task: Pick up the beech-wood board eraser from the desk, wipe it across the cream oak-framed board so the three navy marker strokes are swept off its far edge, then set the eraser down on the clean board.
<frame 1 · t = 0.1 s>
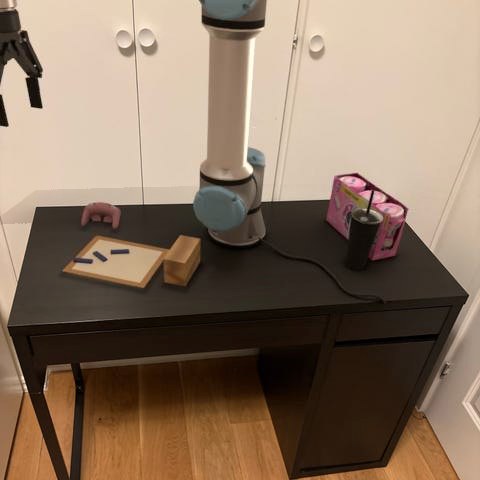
hand: (20, 116, 116), 28 cm above the table, tool pointing down, fingers open, 13 cm apart
drinking cup: (354, 265, 128), on the table
board: (118, 264, 122), on the table
eraser: (182, 275, 120), on the table
stroke a: (120, 252, 124), point 1 cm above the table, touching board
video game controller: (102, 226, 136), on the table
gum box: (358, 238, 139), on the table
stroke b: (100, 257, 121), point 1 cm above the table, touching board
stroke c: (83, 261, 120), point 1 cm above the table, touching board
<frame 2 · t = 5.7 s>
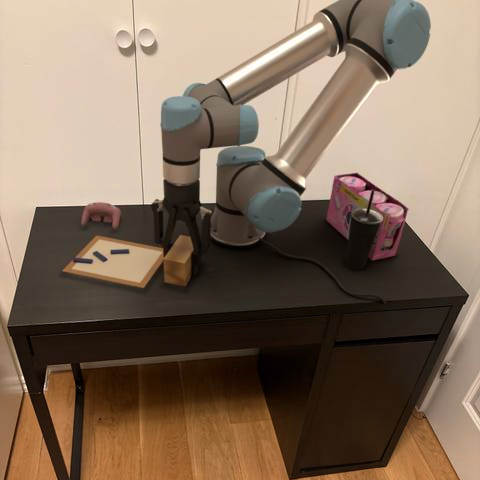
hand: (182, 272, 119), 1 cm above the table, tool pointing down, fingers closed on eraser, 5 cm apart
eraser: (182, 275, 120), on the table, touching gripper
everything else where it was.
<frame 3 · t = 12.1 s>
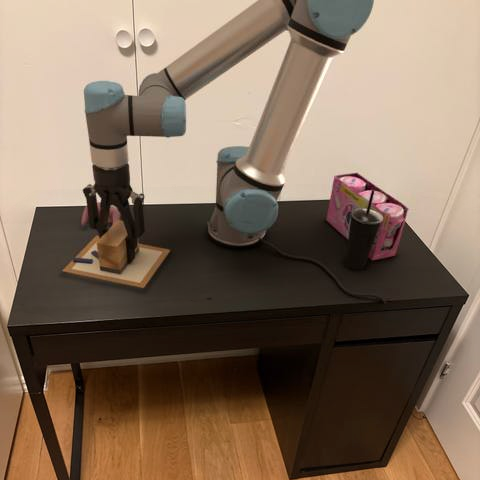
hand: (120, 257, 121), 2 cm above the table, tool pointing down, fingers closed on eraser, 5 cm apart
eraser: (120, 260, 121), point 1 cm above the table, touching gripper
stroke a: (108, 249, 124), point 1 cm above the table, touching board
stroke b: (98, 257, 122), point 1 cm above the table
everything else where it was.
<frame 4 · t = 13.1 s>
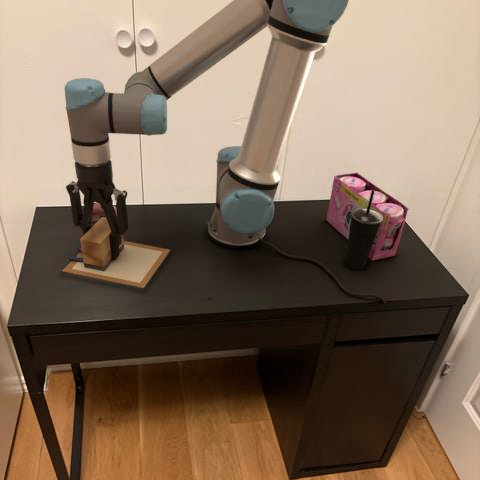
hand: (104, 254, 121), 2 cm above the table, tool pointing down, fingers closed on eraser, 5 cm apart
eraser: (104, 257, 122), point 1 cm above the table, touching gripper, stroke a
stroke a: (93, 246, 125), point 1 cm above the table, touching eraser
stroke b: (84, 253, 122), point 1 cm above the table, touching board
stroke c: (79, 260, 120), point 1 cm above the table
everything else where it was.
when the fingers open (2 cm above the table, at t = 21.7 s): eraser stays where it is, resting on board.
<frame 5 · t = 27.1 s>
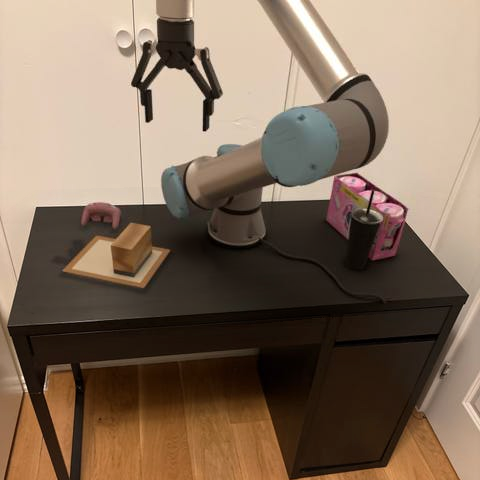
hand: (177, 125, 115), 29 cm above the table, tool pointing down, fingers open, 13 cm apart
eraser: (133, 263, 120), point 1 cm above the table, touching board
stroke a: (79, 248, 127), on the table
stroke b: (74, 254, 124), on the table
stroke c: (65, 262, 122), on the table
everything else where it was.
at the end: stroke a on the table; stroke c on the table; eraser inside the target area on the board (3.9 cm from its centre), point 1.2 cm above the board's base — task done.
